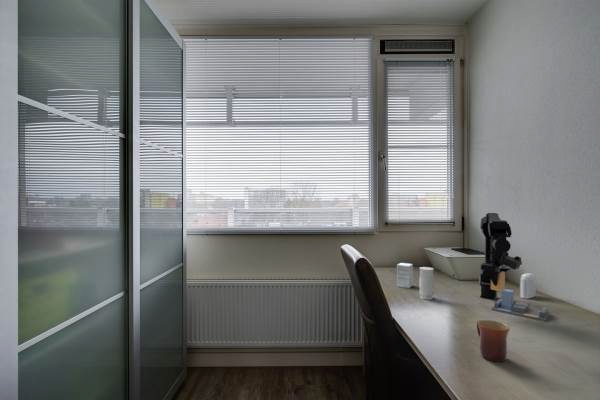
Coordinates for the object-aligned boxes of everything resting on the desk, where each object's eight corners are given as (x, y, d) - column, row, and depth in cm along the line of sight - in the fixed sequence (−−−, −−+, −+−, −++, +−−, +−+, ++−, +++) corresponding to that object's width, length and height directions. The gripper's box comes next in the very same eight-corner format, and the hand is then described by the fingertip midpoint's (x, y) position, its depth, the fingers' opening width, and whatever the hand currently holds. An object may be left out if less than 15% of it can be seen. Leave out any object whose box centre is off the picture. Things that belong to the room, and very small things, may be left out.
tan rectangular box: (490, 289, 148) (490, 271, 147) (495, 287, 150) (495, 270, 150) (500, 291, 144) (500, 272, 144) (504, 290, 146) (505, 271, 146)
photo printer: (527, 294, 179) (527, 271, 179) (536, 296, 175) (537, 272, 175) (518, 297, 173) (518, 273, 173) (527, 299, 169) (528, 275, 169)
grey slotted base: (491, 310, 153) (491, 303, 153) (498, 304, 161) (498, 298, 161) (545, 321, 139) (545, 314, 139) (550, 314, 147) (550, 307, 147)
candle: (419, 299, 169) (419, 269, 169) (419, 295, 175) (419, 266, 175) (433, 300, 166) (434, 270, 166) (433, 296, 173) (433, 267, 173)
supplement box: (400, 283, 199) (400, 262, 199) (413, 285, 195) (413, 264, 195) (396, 286, 193) (396, 264, 193) (409, 288, 189) (409, 265, 189)
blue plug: (501, 307, 153) (501, 290, 153) (503, 305, 156) (503, 288, 156) (511, 309, 151) (511, 292, 151) (513, 307, 153) (513, 290, 153)
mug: (516, 363, 102) (516, 330, 102) (488, 364, 102) (489, 330, 102) (490, 346, 114) (490, 316, 114) (466, 347, 114) (466, 316, 114)
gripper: (507, 253, 135) (507, 292, 135) (528, 250, 145) (528, 286, 146) (480, 250, 144) (479, 286, 144) (501, 246, 155) (500, 280, 155)
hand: (497, 284), depth 147 cm, fingers closed on tan rectangular box, 4 cm apart
